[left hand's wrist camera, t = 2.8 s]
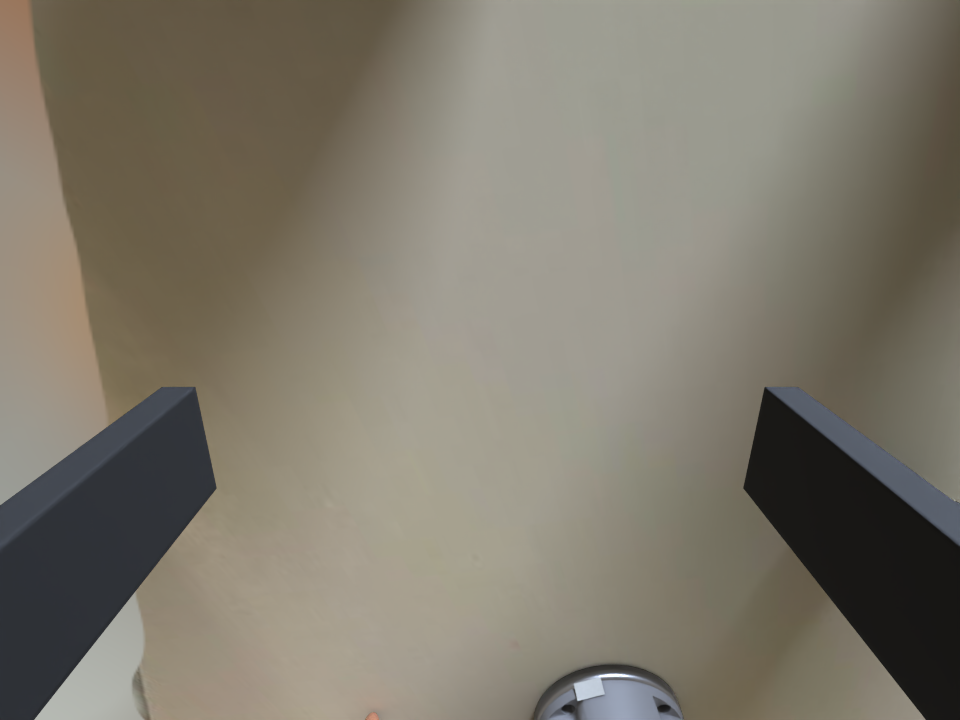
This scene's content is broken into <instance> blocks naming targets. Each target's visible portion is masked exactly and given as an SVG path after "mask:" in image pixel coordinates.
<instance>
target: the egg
mask: <svg viewBox="0 0 960 720" xmlns="http://www.w3.org/2000/svg"><path fill="white" fill-rule="evenodd" d="M365 720H379V718H378V715H377V714H376V713H374V712H373V713H370V714H369V715H368V716H367V717H366V719H365Z"/></svg>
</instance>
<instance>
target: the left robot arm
mask: <svg viewBox="0 0 960 720" xmlns="http://www.w3.org/2000/svg"><path fill="white" fill-rule="evenodd" d="M215 490H216V483H215V478H214V474H213V469H212V464H211V459H210V455H209V450H208V445H207V441H206V436H205V431H204V426H203V422H202V417H201V412H200V407H199V403H198V398H197V393H196V388H195V387H161V388H160V389H159V390H157V391H156V392H155V393H153V394H152V395H150V396H149V397H148V398H146V399H145V400H144V401H142V402H141V403H140V404H138V405H137V406H135V407H134V408H133V409H131V410H130V411H129V412H127V413H126V414H124V415H123V416H122V417H120V418H119V419H118V420H116V421H115V422H114V423H112V424H111V425H109V426H108V427H107V428H105V429H104V430H103V431H101V432H100V433H99V434H97V435H96V436H94V437H93V438H92V439H90V440H89V441H88V442H86V443H85V444H84V445H82V446H81V447H79V448H78V449H77V450H75V451H74V452H73V453H71V454H70V455H68V456H67V457H66V458H64V459H63V460H62V461H60V462H59V463H58V464H56V465H55V466H53V467H52V468H51V469H49V470H48V471H47V472H45V473H44V474H43V475H41V476H40V477H38V478H37V479H36V480H34V481H33V482H32V483H30V484H29V485H28V486H26V487H25V488H23V489H22V490H21V491H19V492H18V493H17V494H15V495H14V496H12V497H11V498H10V499H8V500H7V501H6V502H4V503H3V504H2V505H0V720H34V719H35V718H36V717H37V715H38V714H39V713H40V712H41V710H42V709H43V708H44V706H45V705H46V704H47V703H48V701H49V700H50V699H51V698H52V696H53V695H54V694H55V692H56V691H57V690H58V689H59V687H60V686H61V685H62V684H63V682H64V681H65V680H66V679H67V677H68V676H69V675H70V673H71V672H72V671H73V670H74V668H75V667H76V666H77V665H78V663H79V662H80V661H81V659H82V658H83V657H84V656H85V654H86V653H87V652H88V651H89V649H90V648H91V647H92V646H93V644H94V643H95V642H96V640H97V639H98V638H99V637H100V635H101V634H102V633H103V632H104V630H105V629H106V628H107V627H108V625H109V624H110V623H111V621H112V620H113V619H114V618H115V616H116V615H117V614H118V613H119V611H120V610H121V609H122V607H123V606H124V605H125V604H126V602H127V601H128V600H129V599H130V597H131V596H132V595H133V594H134V592H135V591H136V590H137V589H138V587H139V586H140V585H141V583H142V582H143V581H144V580H145V578H146V577H147V576H148V575H149V573H150V572H151V571H152V570H153V568H154V567H155V566H156V564H157V563H158V562H159V561H160V559H161V558H162V557H163V556H164V554H165V553H166V552H167V550H168V549H169V548H170V547H171V545H172V544H173V543H174V542H175V540H176V539H177V538H178V537H179V535H180V534H181V533H182V531H183V530H184V529H185V528H186V526H187V525H188V524H189V523H190V521H191V520H192V519H193V518H194V516H195V515H196V514H197V512H198V511H199V510H200V509H201V507H202V506H203V505H204V504H205V502H206V501H207V500H208V498H209V497H210V496H211V495H212V493H213V492H214V491H215ZM744 490H745V491H746V492H747V493H748V495H749V496H750V497H751V498H752V500H753V501H754V502H755V504H756V505H757V506H758V507H759V509H760V510H761V511H762V512H763V514H764V515H765V516H766V518H767V519H768V520H769V521H770V523H771V524H772V525H773V526H774V528H775V529H776V530H777V531H778V533H779V534H780V535H781V537H782V538H783V539H784V540H785V542H786V543H787V544H788V545H789V547H790V548H791V549H792V550H793V552H794V553H795V554H796V556H797V557H798V558H799V559H800V561H801V562H802V563H803V564H804V566H805V567H806V568H807V570H808V571H809V572H810V573H811V575H812V576H813V577H814V578H815V580H816V581H817V582H818V583H819V585H820V586H821V587H822V589H823V590H824V591H825V592H826V594H827V595H828V596H829V597H830V599H831V600H832V601H833V602H834V604H835V605H836V606H837V608H838V609H839V610H840V611H841V613H842V614H843V615H844V616H845V618H846V619H847V620H848V621H849V623H850V624H851V625H852V627H853V628H854V629H855V630H856V632H857V633H858V634H859V635H860V637H861V638H862V639H863V641H864V642H865V643H866V644H867V646H868V647H869V648H870V649H871V651H872V652H873V653H874V654H875V656H876V657H877V658H878V660H879V661H880V662H881V663H882V665H883V666H884V667H885V668H886V670H887V671H888V672H889V673H890V675H891V676H892V677H893V679H894V680H895V681H896V682H897V684H898V685H899V686H900V687H901V689H902V690H903V691H904V692H905V694H906V695H907V696H908V698H909V699H910V700H911V701H912V703H913V704H914V705H915V706H916V708H917V709H918V710H919V712H920V713H921V714H922V715H923V717H924V718H925V719H926V720H960V503H958V502H956V501H953V500H952V499H950V498H949V497H948V496H946V495H945V494H943V493H942V492H941V491H939V490H938V489H937V488H935V487H934V486H932V485H931V484H930V483H928V482H927V481H926V480H924V479H923V478H922V477H920V476H919V475H917V474H916V473H915V472H913V471H912V470H911V469H909V468H908V467H907V466H905V465H904V464H902V463H901V462H900V461H898V460H897V459H896V458H894V457H893V456H892V455H890V454H889V453H887V452H886V451H885V450H883V449H882V448H881V447H879V446H878V445H876V444H875V443H874V442H872V441H871V440H870V439H868V438H867V437H866V436H864V435H863V434H861V433H860V432H859V431H857V430H856V429H855V428H853V427H852V426H851V425H849V424H848V423H846V422H845V421H844V420H842V419H841V418H840V417H838V416H837V415H836V414H834V413H833V412H831V411H830V410H829V409H827V408H826V407H825V406H823V405H822V404H820V403H819V402H818V401H816V400H815V399H814V398H812V397H811V396H810V395H808V394H807V393H805V392H804V391H803V390H801V389H800V388H799V387H765V388H764V393H763V398H762V403H761V407H760V412H759V417H758V422H757V426H756V431H755V436H754V441H753V445H752V450H751V455H750V459H749V464H748V469H747V474H746V478H745V483H744ZM534 720H684V717H683V714H682V711H681V709H680V706H679V703H678V700H677V698H676V696H675V693H674V692H673V690H672V689H671V688H670V687H669V685H668V684H667V683H666V682H664V681H663V680H662V679H660V678H659V677H657V676H656V675H654V674H652V673H650V672H648V671H645V670H642V669H639V668H635V667H630V666H623V665H602V666H595V667H590V668H586V669H582V670H579V671H576V672H574V673H571V674H569V675H567V676H565V677H563V678H562V679H560V680H558V681H557V682H556V683H554V684H553V685H552V686H551V687H550V688H549V689H548V690H547V691H546V692H545V693H544V694H543V695H542V697H541V698H540V700H539V702H538V704H537V706H536V709H535V714H534Z"/></svg>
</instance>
